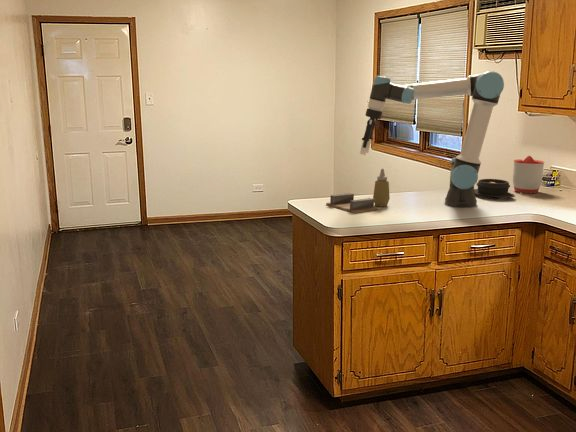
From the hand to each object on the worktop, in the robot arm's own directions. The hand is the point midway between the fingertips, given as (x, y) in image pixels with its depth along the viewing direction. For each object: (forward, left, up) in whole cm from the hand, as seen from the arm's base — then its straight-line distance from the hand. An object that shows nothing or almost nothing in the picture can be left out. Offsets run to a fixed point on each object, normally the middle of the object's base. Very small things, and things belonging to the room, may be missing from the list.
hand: (363, 153), depth 301 cm
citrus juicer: (-19, -101, -25) cm, 106 cm away
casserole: (-19, -73, -25) cm, 80 cm away
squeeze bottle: (-6, -7, -25) cm, 27 cm away
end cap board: (-2, +8, -25) cm, 27 cm away
